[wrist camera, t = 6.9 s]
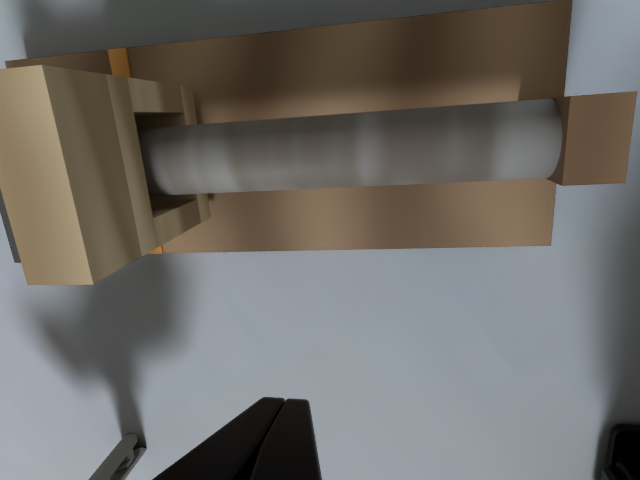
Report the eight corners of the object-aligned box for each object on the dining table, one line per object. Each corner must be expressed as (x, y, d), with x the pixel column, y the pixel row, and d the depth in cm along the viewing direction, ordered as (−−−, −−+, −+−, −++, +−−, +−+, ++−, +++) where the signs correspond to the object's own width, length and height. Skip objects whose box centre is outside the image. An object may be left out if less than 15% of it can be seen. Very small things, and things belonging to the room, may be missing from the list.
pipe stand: (558, 7, 16) (656, -55, 10) (540, 237, 18) (610, 293, 12) (27, 64, 20) (-122, 43, 14) (71, 247, 22) (-39, 294, 16)
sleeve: (191, 86, 17) (41, 64, 10) (210, 217, 18) (93, 284, 11) (124, 92, 17) (-68, 76, 10) (147, 219, 19) (-4, 285, 12)
